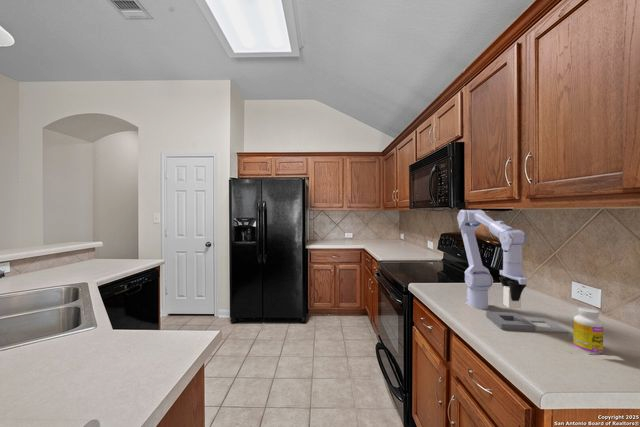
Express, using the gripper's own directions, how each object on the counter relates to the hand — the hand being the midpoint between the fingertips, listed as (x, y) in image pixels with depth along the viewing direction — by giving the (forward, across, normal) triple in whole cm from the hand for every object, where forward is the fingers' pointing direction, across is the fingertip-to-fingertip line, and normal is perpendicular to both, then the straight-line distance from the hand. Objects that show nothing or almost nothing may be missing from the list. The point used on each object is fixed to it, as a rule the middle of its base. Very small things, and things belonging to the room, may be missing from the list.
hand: (511, 298), depth 103 cm
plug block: (+3, 0, 0) cm, 3 cm away
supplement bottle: (+11, -16, -14) cm, 24 cm away
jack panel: (+10, 0, -5) cm, 11 cm away
